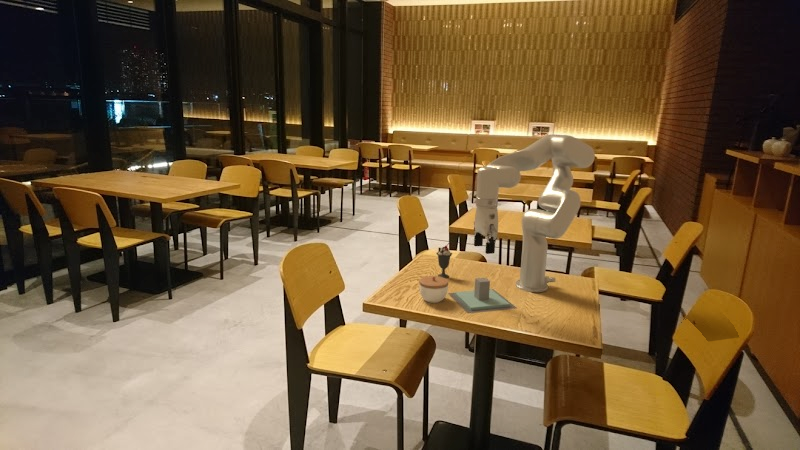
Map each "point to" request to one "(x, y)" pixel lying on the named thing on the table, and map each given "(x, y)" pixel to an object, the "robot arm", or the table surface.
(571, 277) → the table surface
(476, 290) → the lid
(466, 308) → the mat
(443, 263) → the sundae
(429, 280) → the lidded jar
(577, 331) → the table surface
